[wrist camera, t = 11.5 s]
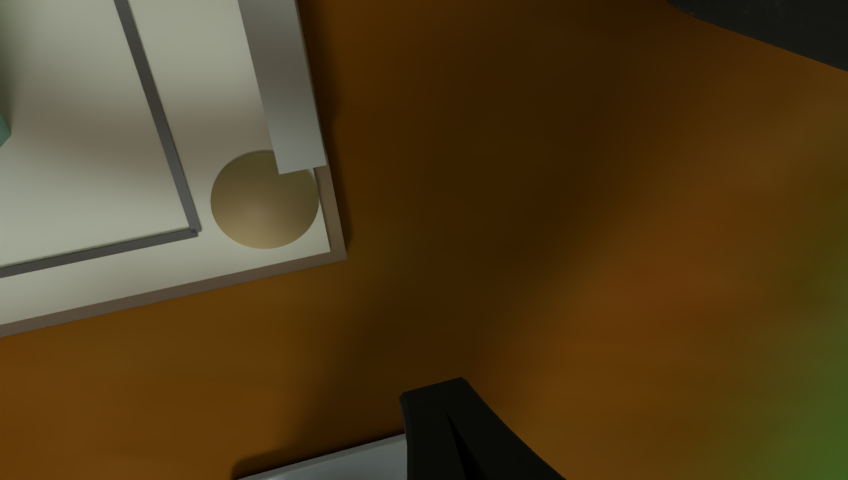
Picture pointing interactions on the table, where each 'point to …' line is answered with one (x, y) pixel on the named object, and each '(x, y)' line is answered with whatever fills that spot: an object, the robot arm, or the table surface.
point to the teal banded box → (3, 131)
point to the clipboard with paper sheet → (155, 154)
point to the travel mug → (783, 24)
